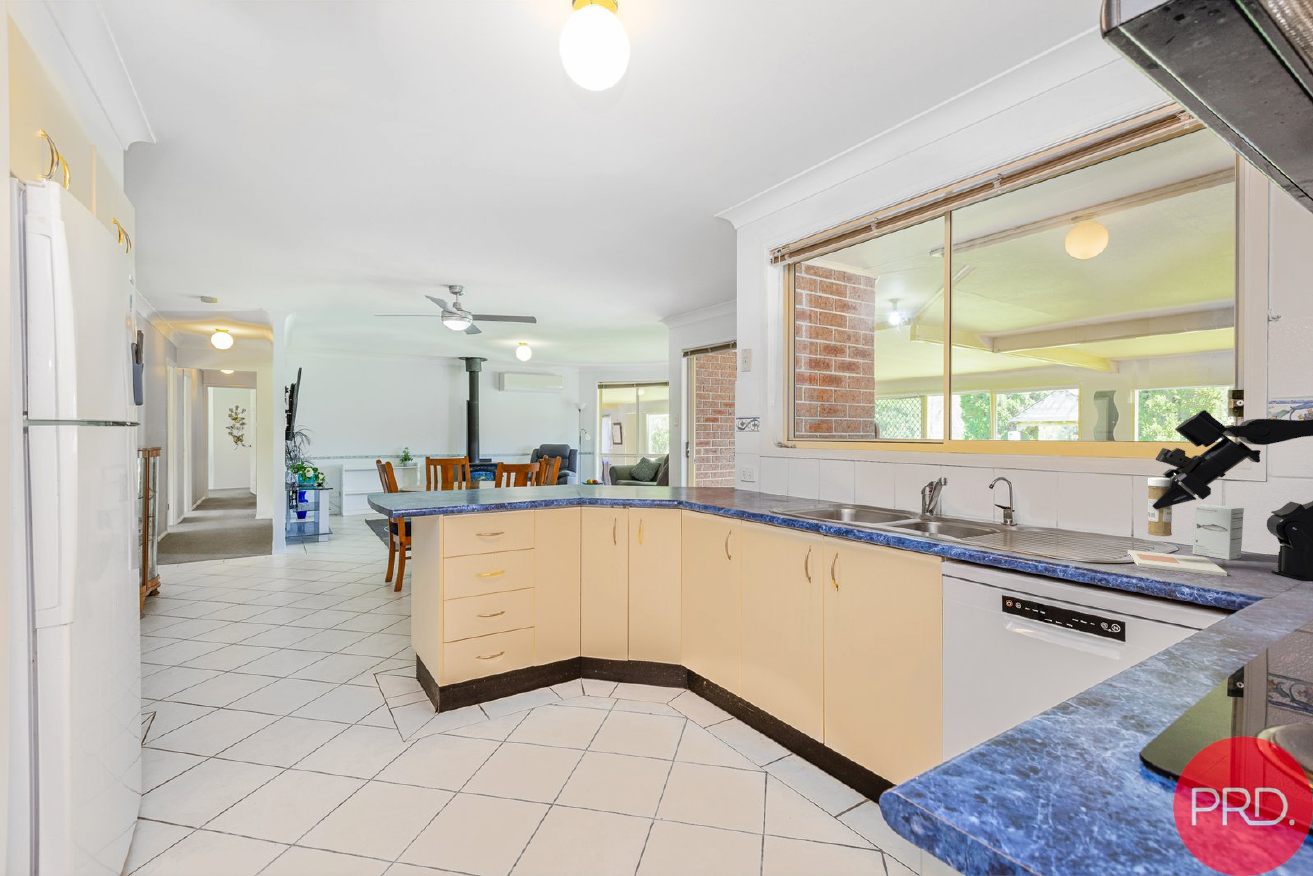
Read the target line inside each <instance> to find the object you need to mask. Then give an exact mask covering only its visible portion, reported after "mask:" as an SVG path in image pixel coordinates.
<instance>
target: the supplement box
mask: <svg viewBox="0 0 1313 876" xmlns="http://www.w3.org/2000/svg"><path fill="white" fill-rule="evenodd" d="M1244 512H1245V508H1244V507H1238V506H1231V505H1230V506H1229V505H1221V504H1220V505H1219V504H1211V503H1210V504H1209V503H1201V504H1195V505H1194V520H1193V521H1194V522H1193V539H1192V555H1197V556H1202V557H1208V558H1209V557H1211V558H1214V559H1215V558H1217V559H1222V560H1226V561H1231V560H1236V559H1240V558H1241V557H1242V547H1243V546H1242V544H1243V543H1242V542H1243V527H1244V526H1243V525H1244V524H1243V523H1244Z"/></svg>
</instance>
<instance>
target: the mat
mask: <svg viewBox="0 0 1313 876" xmlns="http://www.w3.org/2000/svg"><path fill="white" fill-rule="evenodd" d="M1127 554H1128V555H1129V554H1130V555H1131V556H1132V558H1133V559H1132V558H1131V559H1132V561H1133V560H1134V561H1133V562H1134V563H1135V564H1136V565H1137V567H1140V568H1148V569H1157V570H1167V571H1174V572H1175V571H1176V572H1185V573H1195V574H1204V575H1213V576H1220V577H1228V572H1227V571H1226V570H1225V569H1223V568H1222V567H1221V566H1219V565H1217V564H1216V563H1215V562H1213V561H1212V560H1211V559H1209V557H1206V556H1193V555H1184V554H1183V555H1181V554H1172V553H1161V552H1155V551H1154V552H1152V551H1143V550H1134V549H1127ZM1130 555H1129V556H1130Z"/></svg>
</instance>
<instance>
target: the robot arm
mask: <svg viewBox="0 0 1313 876" xmlns="http://www.w3.org/2000/svg"><path fill="white" fill-rule="evenodd" d="M1174 430H1175V431H1176V432H1177V433H1178V434H1179V435H1181V436H1182V437H1183V438H1185V439H1186V440H1187V441H1189V442H1190V443H1191V444H1193V446H1195V447H1197V448H1199V447H1201V446H1202V445H1203V447H1205V448H1208V447H1209V448H1208V449H1207V450H1205V451H1204V452H1203V453H1201V454H1200V455H1193V456H1192V457H1189V456H1187V455H1186V450H1184V449H1181V448H1178V447H1175V448H1174V449H1172V450H1171V449H1168V448H1165V447H1162V448H1161V449H1160V451H1159V453H1158V454H1157V456H1156V458H1155V460H1156V461H1157V462H1160V463H1164V464H1167V465H1170V466H1173V467H1175V468H1168V469H1167V470H1166V471H1165V472H1163V473H1162V475H1163V477H1162V478H1169V479H1170V488H1169V489H1168V490H1167V491H1166V492H1165V493H1164V494H1163V495H1162V496H1161V497H1160V498H1159V499H1158V500H1157V501H1156V502H1155V503H1154V504H1153V505H1152V507H1154V508H1155V509H1160V508H1164V507H1168V506H1172V507H1173V506H1174V505H1178V504H1179V505H1180V504H1183V503H1187V502H1191V501H1196V500H1197V498H1196V497H1195V496H1197V497H1198V499H1200V500H1204V499H1206V498H1207V497H1210V496H1211V494H1212V488H1211V487H1210V486H1209V485H1210V484H1212V483H1213V482H1215V481H1217V479H1219V478H1220V479H1221V478H1223V477H1226V476H1227V474H1226V473H1228V472H1229V471H1231V470H1232V469H1233V468H1234V467H1237V465H1239V464H1240V463H1241V462H1243V461H1244V460H1246V459H1248V461H1250V462H1251V463H1260V462H1261V457H1260V454H1261V450H1260V449H1254V450H1253V449H1252V448H1250V447H1249V446H1248V445H1255V446H1256V445H1257V446H1266V445H1270V444H1272V445H1273V444H1277V443H1282V442H1286V441H1291V440H1294V439H1299V438H1304V437H1313V418H1311V419H1300V420H1299V419H1298V420H1295V419H1279V418H1277V419H1276V418H1275V419H1274V418H1251V419H1247V420H1244V421H1243V422H1241V423H1240V424H1239V425H1233V424H1227V425H1226V426H1225V425H1224V424H1223V423H1221V422H1220V421H1219V420H1217V419H1216V418H1215V417H1213V416H1212V414H1211V413H1210V412H1208V411H1207V410H1206V409H1203V410H1201V411H1199V412H1198V413H1196V414H1194V415H1192V416H1191V417H1190V418H1186V419H1185V420H1184V421H1182V422H1181V423H1180V424H1179V425H1178V426H1176V428H1175V429H1174ZM1229 437H1232V438H1238V439H1239V440H1237V441H1236V442H1235V441H1233V440H1232V439H1230V438H1229ZM1220 439H1221V440H1220ZM1217 441H1218V442H1217ZM1216 442H1217V443H1216ZM1246 444H1248V445H1246ZM1211 445H1212V446H1211ZM1210 446H1211V447H1210ZM1270 512H1271V514H1272V515H1270V516H1269V517H1268V518H1267V520H1266V527H1267V528H1266V529H1267V531H1268V532H1269V533H1270V535H1273V536H1274V537H1276V539H1277V541H1278V543H1279V544H1280V545H1279V551H1278V557H1277V558H1278V560H1277V570H1275V569H1272V570H1270V571H1271V573H1272V574H1275V575H1276V574H1277V575H1280V576H1283V577H1288V578H1292V579H1295V580H1302V581H1313V500H1312V501H1309V502H1306V503H1303V504H1302V503H1299V502H1294V501H1288V502H1287V503H1286V504H1285V505H1283V506H1282V507H1281V508H1279V509H1277V510H1273V511H1270Z"/></svg>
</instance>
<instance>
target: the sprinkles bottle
mask: <svg viewBox="0 0 1313 876" xmlns="http://www.w3.org/2000/svg"><path fill="white" fill-rule="evenodd" d="M1147 486H1148V493H1147V494H1148V498H1147V522H1148V523H1147V531H1146V532H1147V534H1148V535H1152V536H1157V537H1171V536H1173V533H1172V521H1173V514H1172V511H1173V509H1172V507H1173V505H1172V506H1168V507H1164V508H1160V509H1155V508H1154V507H1152V505H1153V504H1154V503H1155V502H1156V501H1157V500H1158V499H1159V498H1160V497H1161V496H1162V495H1163V494H1164V493H1165V492H1166V491H1167V490H1168V489H1169V488H1170V479H1169V478H1163V477H1148V478H1147Z"/></svg>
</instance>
